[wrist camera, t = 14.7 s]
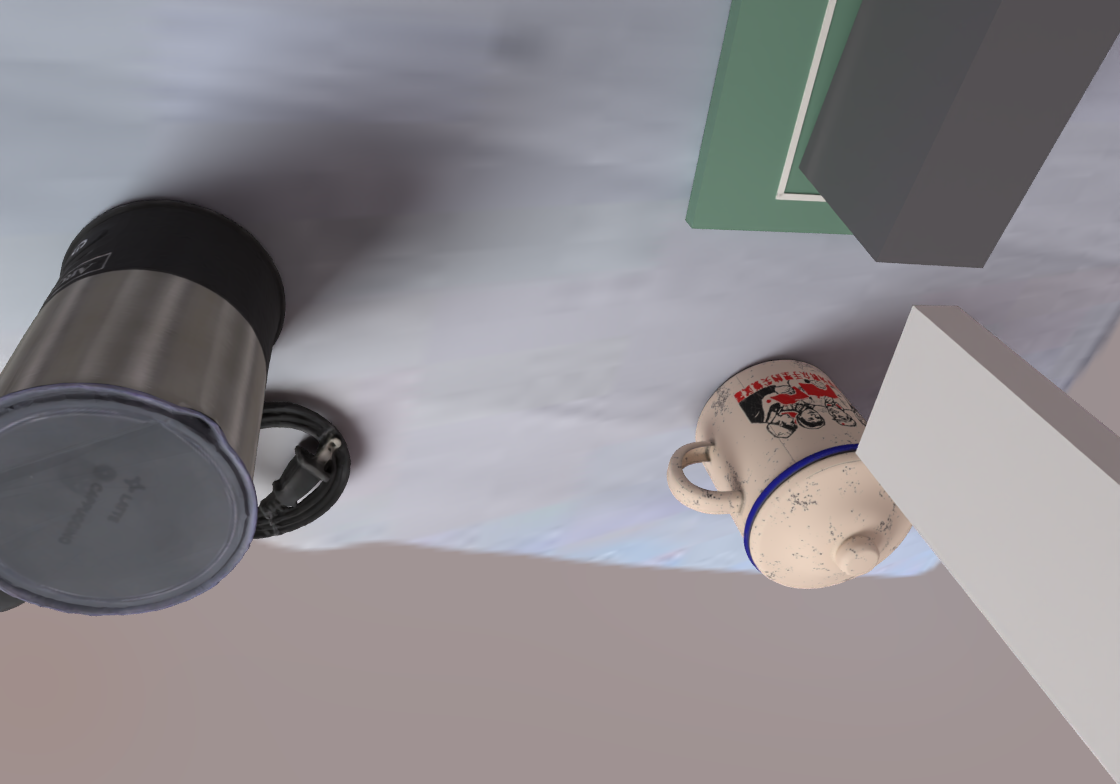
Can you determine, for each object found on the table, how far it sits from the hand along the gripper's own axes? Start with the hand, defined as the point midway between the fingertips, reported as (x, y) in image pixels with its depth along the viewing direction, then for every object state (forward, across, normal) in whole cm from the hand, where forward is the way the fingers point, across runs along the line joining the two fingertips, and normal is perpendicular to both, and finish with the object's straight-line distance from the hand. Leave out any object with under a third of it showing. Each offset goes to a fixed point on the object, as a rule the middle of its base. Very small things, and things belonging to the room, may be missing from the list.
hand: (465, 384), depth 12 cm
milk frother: (+27, -8, -16) cm, 32 cm away
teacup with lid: (+27, +20, -20) cm, 39 cm away
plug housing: (+25, +21, +3) cm, 33 cm away
